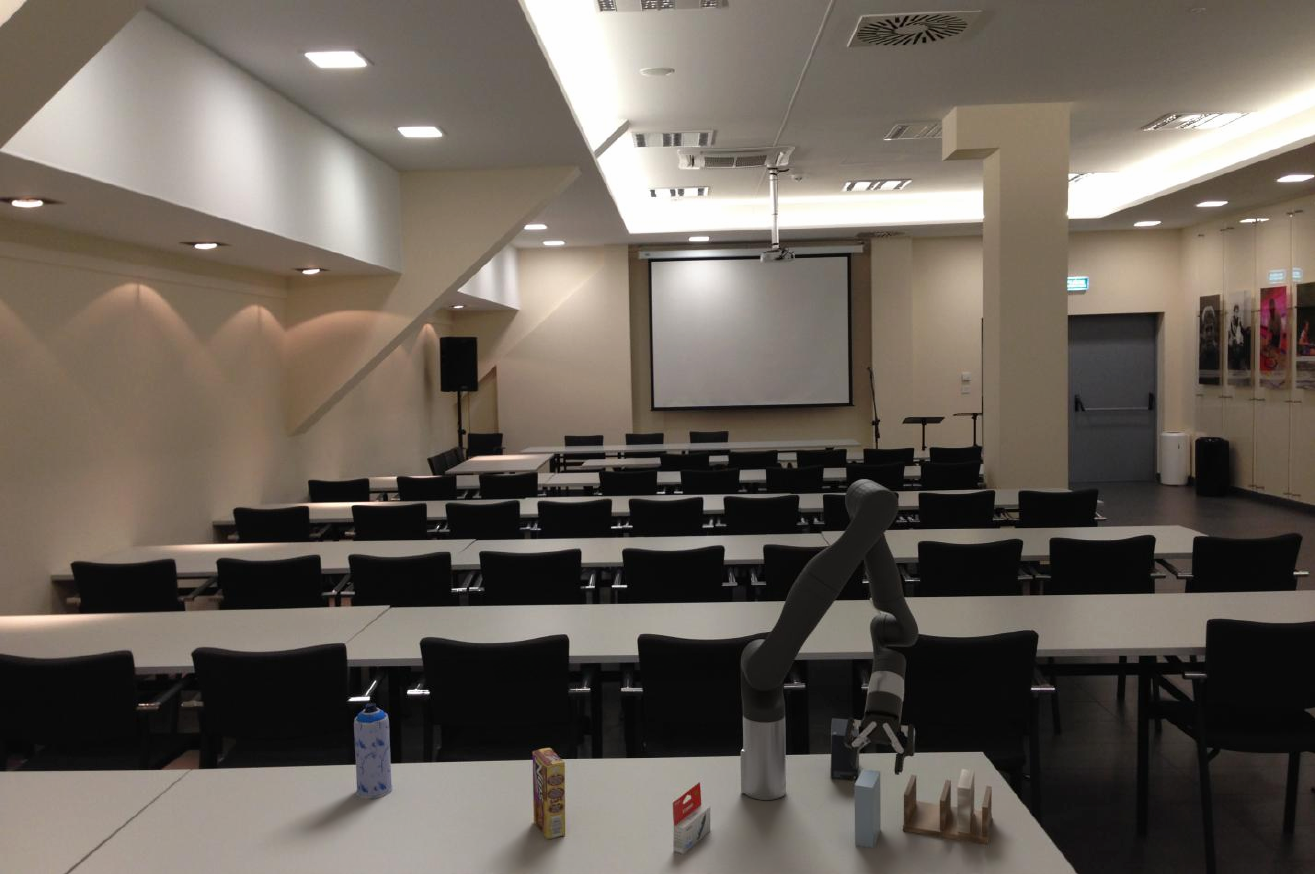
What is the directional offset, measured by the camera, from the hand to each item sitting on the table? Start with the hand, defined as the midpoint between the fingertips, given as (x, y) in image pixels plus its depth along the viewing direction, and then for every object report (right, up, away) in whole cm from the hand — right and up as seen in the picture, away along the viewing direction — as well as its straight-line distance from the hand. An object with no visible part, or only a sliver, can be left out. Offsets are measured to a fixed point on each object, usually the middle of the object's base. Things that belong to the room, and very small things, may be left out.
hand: (875, 770), depth 195 cm
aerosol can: (-109, -12, +19) cm, 111 cm away
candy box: (-67, -12, 0) cm, 68 cm away
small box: (-1, -9, +25) cm, 26 cm away
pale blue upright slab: (-3, -11, -6) cm, 13 cm away
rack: (+14, -10, -2) cm, 18 cm away
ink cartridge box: (-38, -12, -6) cm, 40 cm away
